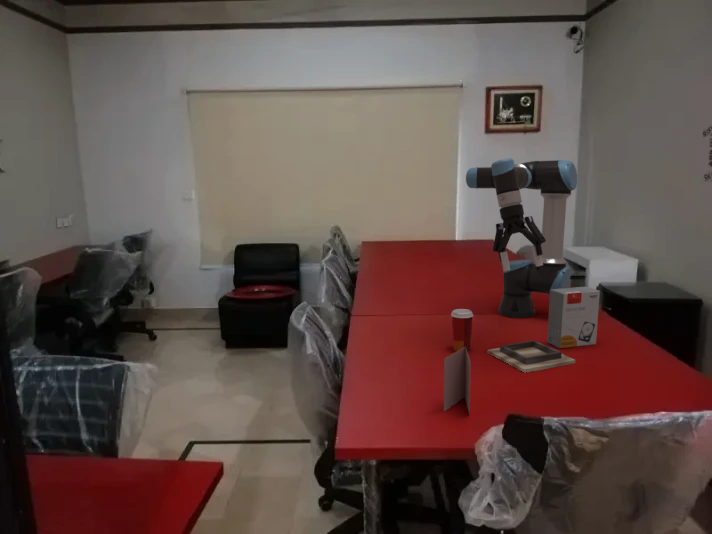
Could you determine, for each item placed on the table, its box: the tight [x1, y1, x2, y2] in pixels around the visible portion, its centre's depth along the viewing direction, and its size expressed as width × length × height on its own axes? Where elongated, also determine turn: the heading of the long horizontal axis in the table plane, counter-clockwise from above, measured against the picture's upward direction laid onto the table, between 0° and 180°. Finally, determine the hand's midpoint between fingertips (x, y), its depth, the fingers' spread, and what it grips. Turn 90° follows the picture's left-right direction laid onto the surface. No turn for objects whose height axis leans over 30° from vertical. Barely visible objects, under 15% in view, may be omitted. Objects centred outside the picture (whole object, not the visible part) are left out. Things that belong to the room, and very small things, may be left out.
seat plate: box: [487, 339, 576, 374], centre depth 186 cm, size 20×20×3 cm
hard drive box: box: [546, 286, 601, 349], centre depth 198 cm, size 16×8×20 cm, turn 105°
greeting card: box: [443, 347, 471, 416], centre depth 150 cm, size 11×7×15 cm, turn 141°
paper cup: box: [450, 308, 474, 352], centre depth 195 cm, size 8×8×14 cm
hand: (522, 268), depth 184 cm, fingers open, 13 cm apart
